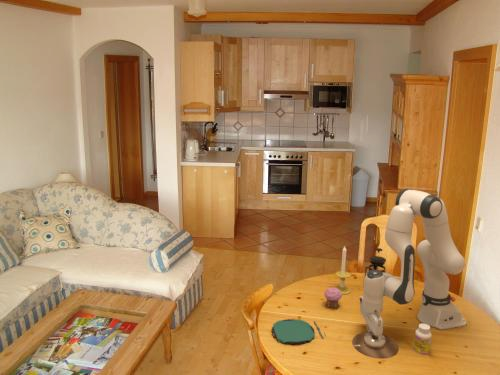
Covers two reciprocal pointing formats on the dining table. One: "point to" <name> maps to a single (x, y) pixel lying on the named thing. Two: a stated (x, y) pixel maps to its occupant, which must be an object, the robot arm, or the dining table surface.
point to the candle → (343, 275)
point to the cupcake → (333, 297)
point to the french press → (376, 262)
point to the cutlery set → (294, 331)
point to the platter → (386, 352)
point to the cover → (374, 341)
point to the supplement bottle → (422, 339)
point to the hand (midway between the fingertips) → (370, 333)
